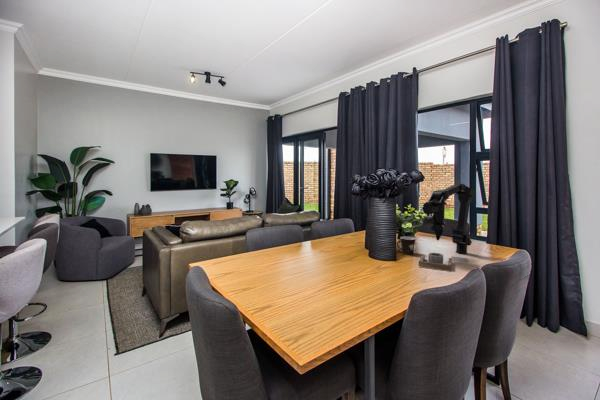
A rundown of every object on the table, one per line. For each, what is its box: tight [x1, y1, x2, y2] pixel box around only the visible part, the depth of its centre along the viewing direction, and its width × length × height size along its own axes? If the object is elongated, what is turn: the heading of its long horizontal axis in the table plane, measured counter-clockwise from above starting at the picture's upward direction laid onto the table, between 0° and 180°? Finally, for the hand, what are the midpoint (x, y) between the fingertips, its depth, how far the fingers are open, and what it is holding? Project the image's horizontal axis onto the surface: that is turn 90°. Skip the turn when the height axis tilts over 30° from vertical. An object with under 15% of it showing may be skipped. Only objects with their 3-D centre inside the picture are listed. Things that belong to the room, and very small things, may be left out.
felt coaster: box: [450, 256, 469, 263], centre depth 161 cm, size 8×8×1 cm
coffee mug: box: [396, 236, 417, 256], centre depth 174 cm, size 12×9×10 cm
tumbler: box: [427, 252, 444, 264], centre depth 152 cm, size 7×7×6 cm
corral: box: [418, 254, 453, 273], centre depth 152 cm, size 15×15×3 cm
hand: (437, 240), depth 162 cm, fingers closed
